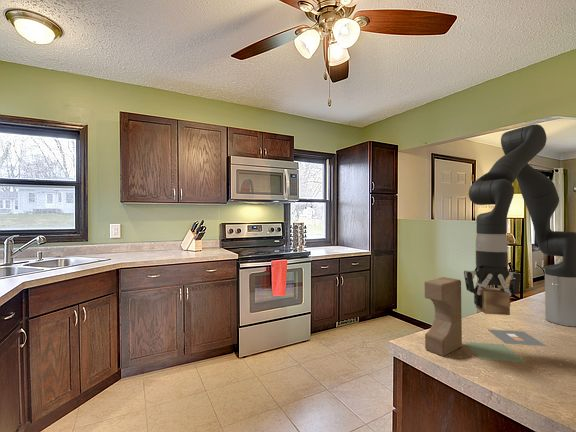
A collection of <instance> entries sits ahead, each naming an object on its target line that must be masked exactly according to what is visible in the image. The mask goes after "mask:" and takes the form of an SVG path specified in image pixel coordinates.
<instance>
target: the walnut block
mask: <svg viewBox="0 0 576 432" xmlns="http://www.w3.org/2000/svg"><path fill="white" fill-rule="evenodd" d="M481 295H482V308H478V307H477V306H476V305H475V308H476V309H477V310H479V311H480V312H482V313H484V314H485V315H496V316H497V315H500V316H501V315H502V316H511V296H510V293H508V292H505V291H503V290H500V289H499V287H486V288H485V289H484V290H483V291H482V294H481Z"/></svg>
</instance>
